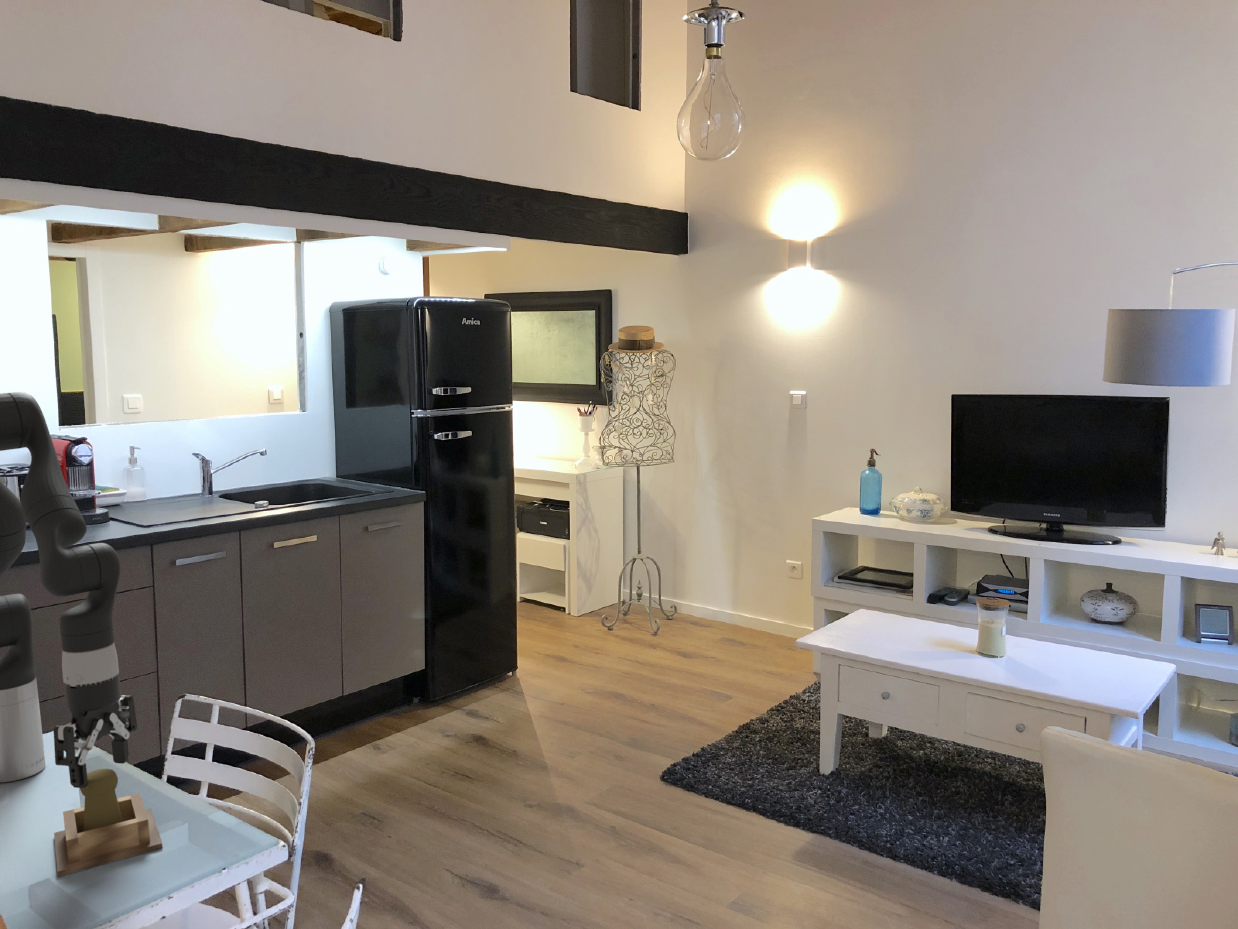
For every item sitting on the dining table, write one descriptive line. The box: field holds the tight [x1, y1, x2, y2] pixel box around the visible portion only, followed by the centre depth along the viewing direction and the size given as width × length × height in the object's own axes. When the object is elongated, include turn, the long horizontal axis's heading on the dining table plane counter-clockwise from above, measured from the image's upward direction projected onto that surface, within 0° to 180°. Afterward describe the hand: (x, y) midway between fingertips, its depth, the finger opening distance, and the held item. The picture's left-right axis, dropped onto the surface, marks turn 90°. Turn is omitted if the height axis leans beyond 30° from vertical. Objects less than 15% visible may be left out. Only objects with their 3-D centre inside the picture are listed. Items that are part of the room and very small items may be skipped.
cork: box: [79, 768, 123, 832], centre depth 149 cm, size 6×6×11 cm
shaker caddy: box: [53, 792, 163, 877], centre depth 150 cm, size 14×14×4 cm
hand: (101, 774), depth 149 cm, fingers open, 8 cm apart
